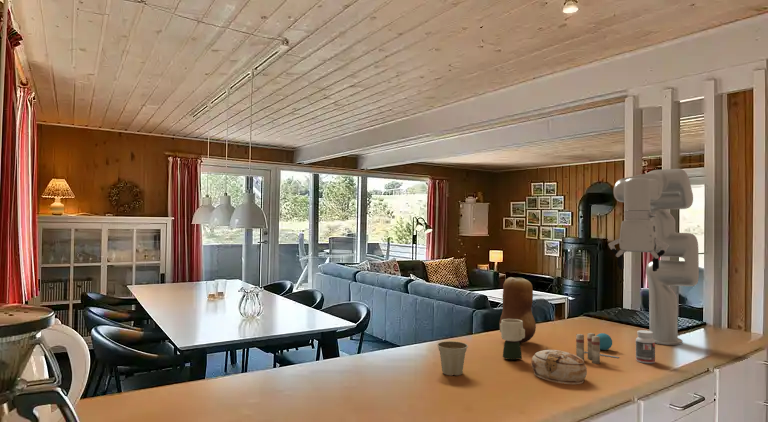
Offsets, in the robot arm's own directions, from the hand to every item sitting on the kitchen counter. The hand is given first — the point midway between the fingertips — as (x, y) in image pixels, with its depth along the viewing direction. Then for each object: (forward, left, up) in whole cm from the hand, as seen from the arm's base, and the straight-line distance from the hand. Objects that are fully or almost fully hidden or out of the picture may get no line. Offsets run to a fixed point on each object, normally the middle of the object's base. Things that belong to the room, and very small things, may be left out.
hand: (637, 270), depth 156 cm
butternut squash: (-8, -44, -31) cm, 55 cm away
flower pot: (+41, -44, -31) cm, 68 cm away
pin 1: (+2, -17, -31) cm, 36 cm away
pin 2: (+2, -12, -31) cm, 34 cm away
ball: (-17, -15, -28) cm, 36 cm away
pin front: (-2, -15, -31) cm, 35 cm away
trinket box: (+25, -17, -32) cm, 44 cm away
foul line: (-9, -15, -31) cm, 36 cm away
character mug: (+15, -36, -31) cm, 50 cm away
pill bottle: (-10, 0, -31) cm, 33 cm away
